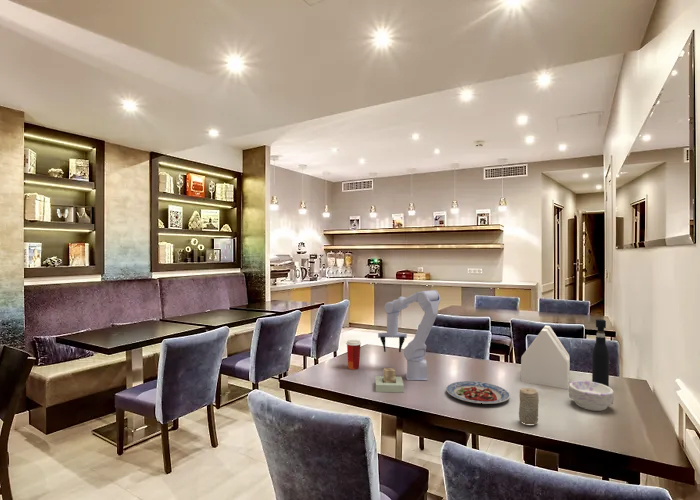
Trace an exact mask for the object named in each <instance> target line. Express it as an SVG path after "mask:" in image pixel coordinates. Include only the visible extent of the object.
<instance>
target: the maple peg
mask: <svg viewBox="0 0 700 500" xmlns="http://www.w3.org/2000/svg"><path fill="white" fill-rule="evenodd" d="M382 376H383V383H395V377H396V370H395V369H394V368H392V367H388V368H386V367H385V368H383V375H382Z"/></svg>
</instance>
